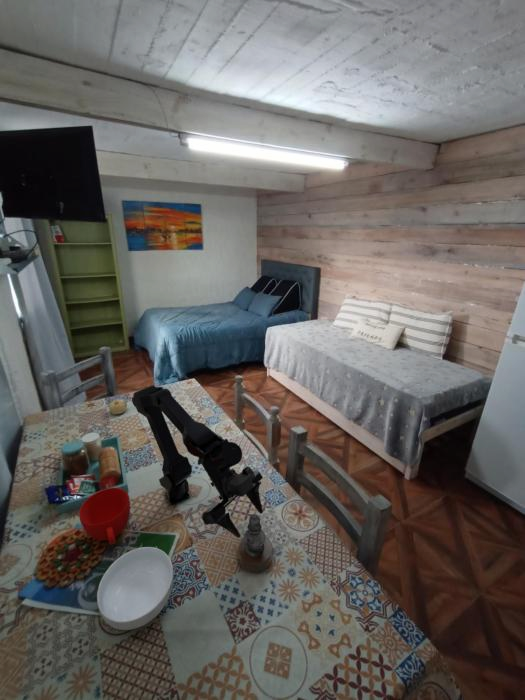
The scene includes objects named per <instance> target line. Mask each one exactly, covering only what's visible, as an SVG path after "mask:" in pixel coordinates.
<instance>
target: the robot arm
mask: <svg viewBox="0 0 525 700" xmlns="http://www.w3.org/2000/svg"><path fill="white" fill-rule="evenodd" d="M131 403H132V405H133V406H134V408H136V411H137V412H138V413H139V414H141V416H143V417H145V418H146V420H147V422H148V424H149V427H150V429H151V432H152V435H153V437H154V440H155V442H156V444H157V447H158V449H159V452H160V454H161V456H162V459H163V462H162V467H161V471H162V474H163V476H161V477H160V478H159V479H158V481H159V482H158V483H159V485H160V486H161V487H162V488H164V489H165V492H164V494H165V496H166V498H167V500H168V503H169V505H170V506H171V507H172V506H174V505H176V504H179V503H181V502H183V501H185V500H187V499H189V498H191V497H190V493H189V492H190V485H189V481H188V480H187V479H189V478H191V476H192V473H193V467H192V465H191V463H190V460H189V457H188V456H184V455H182V454H181V453H180V452H179V449H178V448H177V445H176V442H175V440H174V438H173V435H172V432H171V430H170V428H169V425H168V423H167V420H166V418H167V419H168V420H169V421H170V423H172V425H173V427H175V428H176V429H177V431H179V433H180V435H181V436H182V443H183V446H185V448H186V450H187V452H188V453H189V454H190V455H191V456H193V457H197V458H198V460H197V465H198V466H200V465H201V466H202V468H203V469H204V471H205V472H206V474H207V476H208V477H209V479H210V481H211V482H210V485H211V487H212V488H213V487H215V489H216V491H217V492H218V495H219V496H218V499H219V501H220V502H217V503H214V504H212V505H210V506H209V507H208V508H207V509H206V510H205V511H203V512H202V514H201V519H202V522H203V523H204V525H205V526H206V525H207V526H209V525H218V526H220V527H221V528H223V529H225V530H226V531H227V532H229V533H230V534H231V535H233V536H235V537H236V538H237V539H239V538H241V534H240V532H239V530H238V529H237V527H236V525H235V524H234V522H233V521H232V519H231V515H230V511H229V512H228V511H227V510H226V509H227V507H229V505H230V504H231V503H233V502H234V501H235V500H236V499H237V498H238V497H240V498H242V497H245V496H246V497H247V498H248V500H249V501H250V503H251V504H252V505H253V507H254V508H255V509H256V511H257V512H258V513H259V514H263V513H264V510H263V509H264V508H263V506H262V501H261V497H260V486H261V485H262V480H263V479H264V476H263V475H262V473H261V472H260V471H258V470H256V469H255V470H253V469H252V468H251V467H250V466H245V467H244V468H243V469H242V470H241V471H240V472H239V473H238V472H237V471H236V470H235V469H234V468H232V467H235V466H236V465H239V464H240V462H241V461H242V459H243V450H242V448H241V446H240V445H239V444H237V443H236V442H233V441H229V440H228V438H223V436H221V435H219V434H217V433H216V432H214V431H213V430H212V429H210V428H209V427H208V426H207V425H206V424H205V423H202V422H199V421H196V420H195V419H194V418H193V417H192V416H191V415H190V414H189V413H188V411H187V410H185V409H184V407H183V406H182V405H181V404H180V403H179V402H178V401H177V400H176V399H175V397H173V394H172V392H171V390H169V388H164V387H163V386H155V385H153V384H152V385H149V386H147V387H144V388H141V389H140V390H136V391H135V392H133V396H132V397H131ZM165 417H166V418H165ZM226 511H227V512H226Z"/></svg>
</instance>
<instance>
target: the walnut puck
mask: <svg viewBox="0 0 525 700" xmlns="http://www.w3.org/2000/svg"><path fill="white" fill-rule="evenodd" d="M265 536H266V540H265V543H264V546H265V548H264V551H263V553H262V554H261V555H259V556H256V557H254V556H250V555H249V554H247V552H246V550H245V542H244V537H242V539H241V540H240V542H239V544H238V561H239V564H240V566H241V567H242V569H244V570H245V571H246V572H248V573H251V574H260V573H263V572H264V571H266V570H267V569H268V568H269V566H270V565H271V563H272V561H273V560H272V559H273V544H272V542H271V540H270V538H269V537H268V536H267V535H265Z"/></svg>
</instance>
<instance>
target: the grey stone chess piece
mask: <svg viewBox="0 0 525 700" xmlns="http://www.w3.org/2000/svg"><path fill="white" fill-rule="evenodd" d="M266 536H267V535H266V534H265V532H264V530H262V524H261V517H260V516H259V514H256V513H253V514H251V515H250V516H249V517H248V524H247V530H246V532H245V533H244V535H243V538H244V542H245V550H246V552H247V554H249V555H250V556H254V557H256V556H259V555H261V554H262V553H263V551H264V548H265V546H264V543H265V540H266Z"/></svg>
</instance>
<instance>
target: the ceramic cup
mask: <svg viewBox="0 0 525 700" xmlns="http://www.w3.org/2000/svg"><path fill="white" fill-rule="evenodd" d="M130 514H131V501H130V496H129V493H128V492H127V491H126V490H124V489H123V488H120V487H109V488H104V489H101V490H99V491H97V492H95V493H93V494H92V495H90V496H89V497H88V498H87V499H86V500H85V501H84V502H83V503H82V504H81V506H80V509H79V512H78V517H79V520H80V524H81V526H82V528H83V530H84V531H85V533H86V534H87V535H88V536H89V537H91V538H92V539H94V540H96V541H108V543H109V545H114V544H115V543H116V537H118V536H119V535H120V534H121V533H122V532H123V530H125V528H126V526H127V525H128V522H129V519H130V516H131V515H130Z"/></svg>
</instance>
